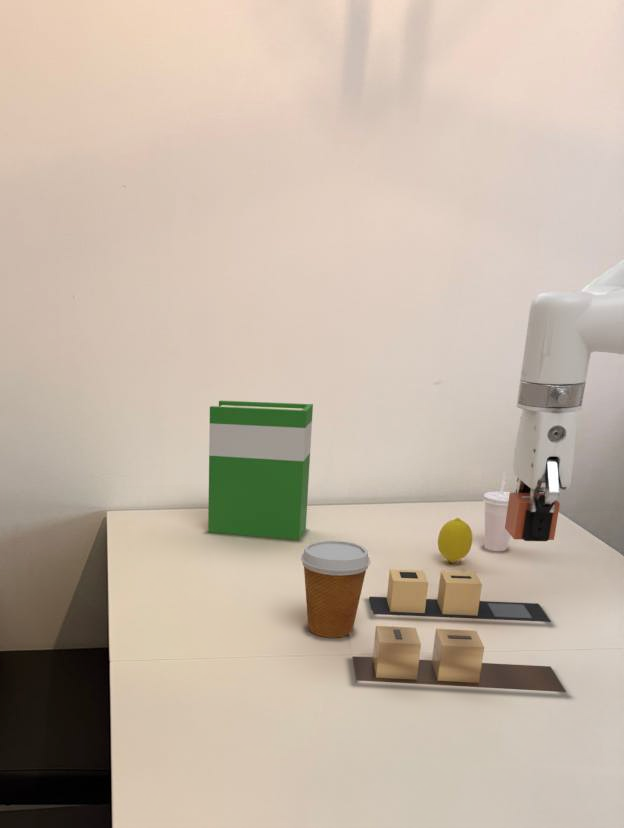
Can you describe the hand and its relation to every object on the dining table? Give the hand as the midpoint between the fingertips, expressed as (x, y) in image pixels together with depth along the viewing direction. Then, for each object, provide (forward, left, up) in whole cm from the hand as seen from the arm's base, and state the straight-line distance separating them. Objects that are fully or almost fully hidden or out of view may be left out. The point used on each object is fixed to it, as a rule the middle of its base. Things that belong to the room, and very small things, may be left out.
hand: (529, 532), depth 116 cm
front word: (+10, +14, -15) cm, 23 cm away
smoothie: (-6, -39, -15) cm, 42 cm away
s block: (0, 0, 0) cm, 0 cm away
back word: (+6, -8, -15) cm, 18 cm away
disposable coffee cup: (+25, +1, -15) cm, 29 cm away
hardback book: (+37, -45, -15) cm, 60 cm away
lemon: (+3, -30, -15) cm, 34 cm away
